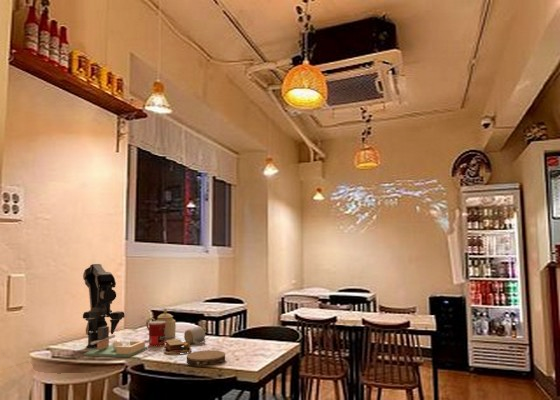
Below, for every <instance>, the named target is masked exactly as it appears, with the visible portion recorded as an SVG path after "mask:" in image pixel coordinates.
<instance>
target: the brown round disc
mask: <svg viewBox="0 0 560 400" xmlns="http://www.w3.org/2000/svg"><path fill="white" fill-rule="evenodd" d="M225 361H226V352H224V351H222V350H213V349H211V350H209V349H208V350H198V351H197V350H196V351H193V352H189V353H187V355H186V363H188V364H187V365H190V366H192V367H193V366H194V367H212V366H216V365H221V364H223V363H225Z"/></svg>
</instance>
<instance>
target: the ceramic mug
mask: <svg viewBox="0 0 560 400" xmlns="http://www.w3.org/2000/svg"><path fill="white" fill-rule="evenodd" d="M183 338H184V342H186V343H187V344H190V345H193V344H194V345H198V346H202V345H205V343H206V333H205V330H204V328H203V326H195V327H192V328H188V329H187V330H185V331H184V334H183Z"/></svg>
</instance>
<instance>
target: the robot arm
mask: <svg viewBox="0 0 560 400" xmlns="http://www.w3.org/2000/svg"><path fill="white" fill-rule="evenodd" d="M82 277H83V281H84V285H86V287H87V288H88V295H89V307H90V310H89V311H84V313H83V314H82V319H84V321H87V324H86V327H85V334H86V335H87V345H86V346H87V347H86V348H95V347H97V344H94V345H91V344H90V343H91V342H93V341H96V340H99V339H98V328H99V327H103V326H108V322H107V319H106V318H110V319H109V321H110V335H114V332H115V330H116V328H117V326H118V325H119V323H120V321H121V320H123V319H124V318H125V312H124V311H118V310H117V311H113V310H112V309H111V305H112V304H113V301H115V299H116V298H117V292H116V291H115V290H114V289H113V288H116V285H117V282H116V280H115V277H114V275H113V273H112V272H110V271H106V270H105V269H104V267H103V265H102V264H101V263H92V264H90V266H89V267H88V268H86V269H84V272H83V275H82Z"/></svg>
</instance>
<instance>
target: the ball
mask: <svg viewBox="0 0 560 400" xmlns="http://www.w3.org/2000/svg"><path fill="white" fill-rule="evenodd" d="M111 346H112V347H113V349H114V350H116V347H117V346H123V342H122V340H119V339H117V340H114V341H113V343H112V345H111Z"/></svg>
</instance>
